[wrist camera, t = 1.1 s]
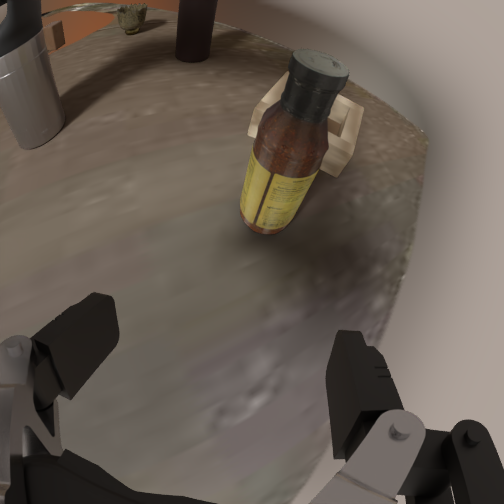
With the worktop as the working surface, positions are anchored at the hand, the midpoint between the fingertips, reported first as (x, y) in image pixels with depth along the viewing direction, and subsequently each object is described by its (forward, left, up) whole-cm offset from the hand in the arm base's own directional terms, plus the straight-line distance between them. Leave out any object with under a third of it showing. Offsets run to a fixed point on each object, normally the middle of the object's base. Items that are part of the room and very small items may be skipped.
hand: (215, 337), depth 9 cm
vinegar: (-28, +45, -18) cm, 56 cm away
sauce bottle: (-1, +17, -18) cm, 25 cm away
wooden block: (-69, +40, -18) cm, 82 cm away
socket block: (-1, +35, -18) cm, 39 cm away
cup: (-50, +51, -18) cm, 74 cm away
